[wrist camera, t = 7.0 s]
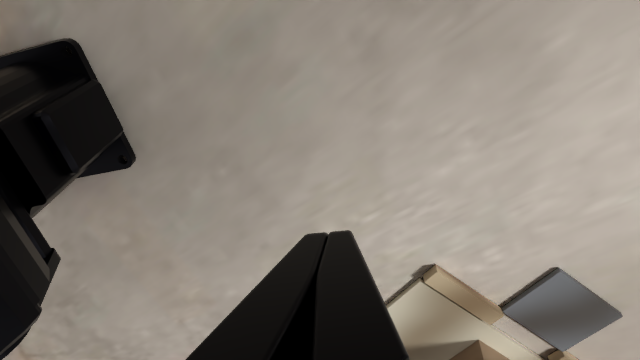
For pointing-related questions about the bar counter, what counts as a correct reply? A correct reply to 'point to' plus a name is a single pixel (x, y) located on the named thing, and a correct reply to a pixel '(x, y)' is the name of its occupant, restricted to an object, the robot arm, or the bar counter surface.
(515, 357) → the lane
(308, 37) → the bar counter surface
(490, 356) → the walnut block
